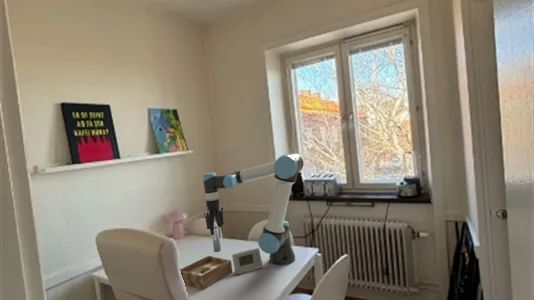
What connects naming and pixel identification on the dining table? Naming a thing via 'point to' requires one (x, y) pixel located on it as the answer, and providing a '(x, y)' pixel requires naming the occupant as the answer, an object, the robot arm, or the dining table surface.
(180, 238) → the dining table surface
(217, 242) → the dowel
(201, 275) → the open box
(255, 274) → the dining table surface
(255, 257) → the digital clock
